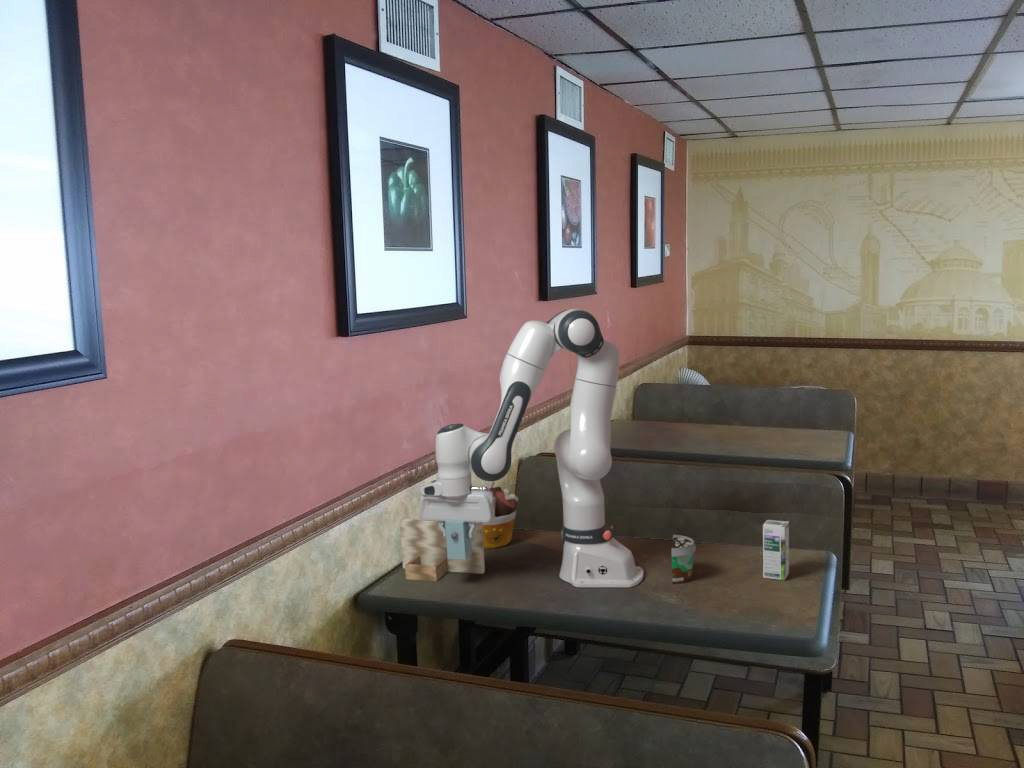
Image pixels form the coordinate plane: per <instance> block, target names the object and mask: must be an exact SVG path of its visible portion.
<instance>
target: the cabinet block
mask: <svg viewBox="0 0 1024 768" xmlns="http://www.w3.org/2000/svg"><path fill="white" fill-rule="evenodd" d="M445 528H446V542H447V555H448V559H463V560H466V559H467V558H468V557H469V556H470V555H471V554H472V544H471V538H466V536H467V535H466V532H467V531H468V530H470V526H469V522H459V521H446V522H445Z"/></svg>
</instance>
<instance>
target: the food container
mask: <svg viewBox="0 0 1024 768" xmlns="http://www.w3.org/2000/svg"><path fill="white" fill-rule="evenodd" d="M696 551H697V547H696V543H695V541H694V539H693V538H691V537H688V536H685V535H679V534H672V547H671V576H672V577H671V581H672V583H671V585H679V584H680V585H681V584H685V583H689V582H691V581H692V580H693V568H694V567H693V565H694V553H695V552H696Z"/></svg>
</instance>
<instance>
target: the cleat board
mask: <svg viewBox="0 0 1024 768" xmlns="http://www.w3.org/2000/svg"><path fill="white" fill-rule="evenodd" d="M470 528H471V526H470ZM399 529H400V541H401V544H400V545H401V560H402V569H405V571H404V572H405V580H412V581H423V582H424V581H426V582H427V581H428V582H437V581H439V580H440V579H441V578H442V577H443V576H444V575H446V574H447V573H448V572H450V573H451V572H452V573H466V574H477V575H478V574H481V575H484V574H485V572H486V571H485V570H486V567H485V565H486V564H485V551H484V550H485V549H484V545H483V525H482V523H477V525H476V527H475V529H474V530H473V532H474V537H473V538H471V544H472V554H471V555H470V556H469V557H468V558H467V559H466V560H463V559H448V555H447V542H446V537H444V536H443V531H442V529H441V528H440V526H439V524H438V521H423V520H422V519H414V518H413V519H412V518H401V519H399Z"/></svg>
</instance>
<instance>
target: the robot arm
mask: <svg viewBox="0 0 1024 768" xmlns="http://www.w3.org/2000/svg"><path fill="white" fill-rule="evenodd" d="M597 320H598V319H596V317H595V316H594V315H593V314H591V313H590V312H588V311H585V310H584V309H581V308H569V309H564V310H562V311H560V312H558V313H557V314H555V315H554V316H553V317H552V318H550V319H549V320H547V321H546V322H544V321H540V320H536V319H535V320H534V319H533V320H528V321H526V322H524V323H523V325H522V326H521V328H520V329H519V330H518V332H517V333H516V335H515V337H514V338H513V340H512V341H511V344H510V345H509V348H508V350H507V353H506V355H505V357H504V359H503V362H502V366H501V368H500V372H499V383H500V391H501V392H500V393H501V394H500V395H501V397H500V398H501V399H500V405H499V409H498V411H497V414H496V417H495V419H494V421H493V424H492V426H491V429H490V432H489V433H487V432H481V431H478V430H475V429H472V428H470V427H468V426H467V425H465V424H463V423H452V424H448V425H446V426H444V427H442V428H440V429H439V430H438V431H437V432H436V436H435V448H434V449H435V451H434V452H435V461H436V464H437V473H436V474H437V475H436V477H437V479H434V480H432V481H429V482H426V483H425V484H424V485H423V486H422V487H420V494H421V496H420V498H419V501H418V503H419V504H418V514H419V518H420V520H423V521H438V524H439V526H440V528H441V529H442V531H443V536H444V537H446V528H445V522H446V521H459V522H469V526H471V528H470V530H468V531H467V532H466V535H467V536H466V538H473V537H474V532H473V530H474V529H475V527H476V525H477V522H479V523H489V522H491V521H492V520H493V519H494V517H495V511H494V505H493V492H492V491H491V490H490V489H488V488H487V487H482V486H473V483H472V472H473V473H474V475H475V476H476V477H477V478H479V479H481V480H482V481H484V482H490V481H494V482H496V481H499V480H501V479H503V478H504V477H505V476H506V475H507V474H508V473H509V472H510V469H511V466H512V448H513V443H514V440H515V438H516V436H517V433H518V430H519V428H520V425H521V422H522V420H523V418H524V415H525V412H526V410H527V407H528V405H529V403H530V402H531V400H532V398H533V396H534V394H535V392H536V390H537V389H538V386H539V385H540V382H541V381H542V379H543V377H544V375H545V373H546V370H547V368H548V366H549V363H550V360H551V359H552V357H553V356H554V355H555V354H556V353H557V352H558V351H560V350H564V351H568V352H572V353H574V354H575V355H576V357H577V358H576V359H577V369H576V372H575V378H574V382H573V387H572V393H571V398H570V399H571V400H570V404H569V410H570V429H566V430H564V431H561V433H559V434H558V435H557V437H556V438H555V440H554V443H553V450H554V451H553V452H554V454H555V457H556V458H555V459H556V466H557V472H558V473H557V474H558V479H559V485H560V488H561V489H560V490H561V498H562V516H563V517H562V518H563V523H562V524H561V540H562V545H563V550H562V551H563V553H562V559H561V561H562V562H561V565H560V570H559V575H558V576H559V578H560V579H561V580H563V581H565V582H566V583H568V584H571V585H572V586H573V587H575V588H633V587H635V586H637V585H639V584H640V583H641V582H642V581H643V579H644V577H645V573H644V569H643V568H642V567H641V566H636V563H635V558H634V555H633V553H632V551H631V549H629V548H628V547H626V546H625V545H623V544H622V543H621V542H619V541H618V540H617V539H615V538H614V536H613V534H614V533H613V530H614V526H613V525H612V524H611V525H609V524H608V523H606V515H605V494H604V491H603V488H602V485H601V479H603V478H604V477H605V476H606V475H607V474H608V473H609V472H610V470H611V468H612V464H613V458H612V454H611V426H612V425H611V424H612V413H613V409H614V408H613V406H614V402H615V398H616V397H615V396H616V391H617V386H618V381H619V374H620V351H619V348H618V347H617V346H616V345H615V344H614V343H612V342H610V341H608V340H604V337H603V334H602V331H601V328H600V327H601V326H600V324H599V323H598V321H597ZM487 490H489V491H487Z"/></svg>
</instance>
